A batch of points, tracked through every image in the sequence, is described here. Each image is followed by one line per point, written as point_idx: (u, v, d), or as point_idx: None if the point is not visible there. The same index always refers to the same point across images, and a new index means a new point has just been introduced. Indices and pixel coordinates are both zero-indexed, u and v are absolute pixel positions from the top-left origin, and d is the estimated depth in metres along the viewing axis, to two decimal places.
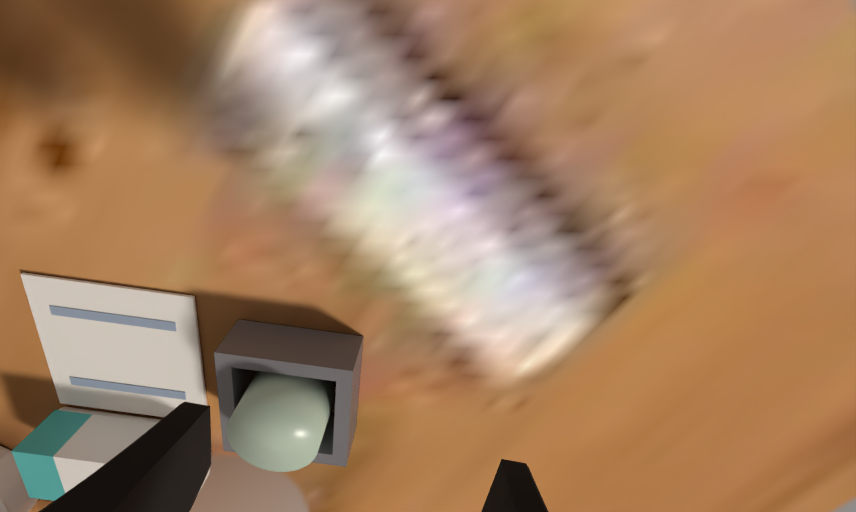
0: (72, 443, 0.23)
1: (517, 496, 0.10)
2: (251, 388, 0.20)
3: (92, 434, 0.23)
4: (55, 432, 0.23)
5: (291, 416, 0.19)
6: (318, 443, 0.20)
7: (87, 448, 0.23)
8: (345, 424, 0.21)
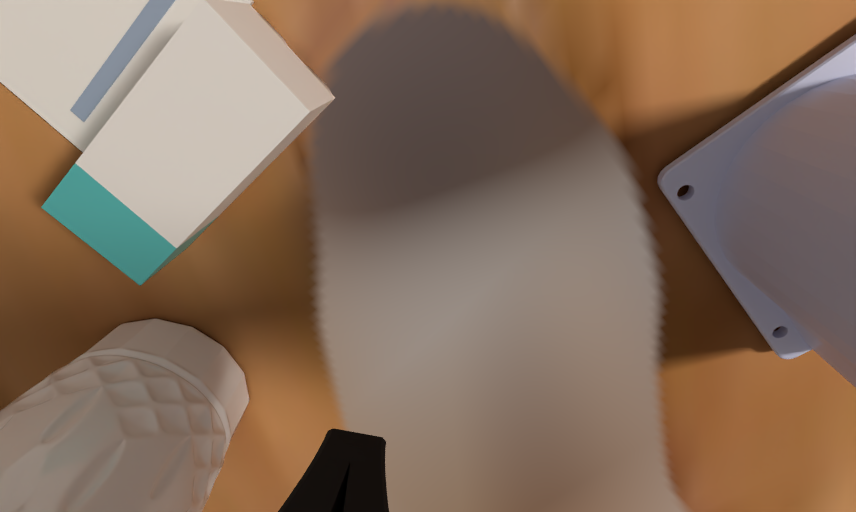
0: None
1: (356, 467, 0.10)
2: None
3: None
4: None
5: None
6: None
7: None
8: None
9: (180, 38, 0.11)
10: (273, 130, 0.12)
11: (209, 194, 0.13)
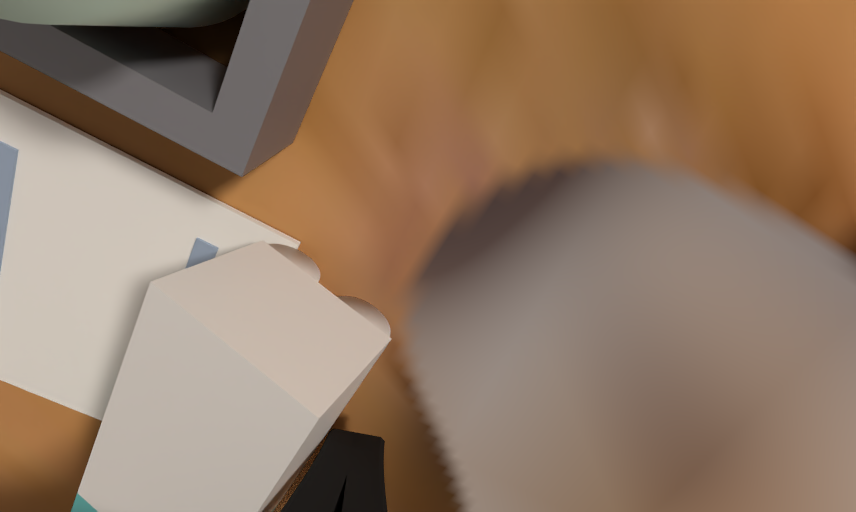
0: None
1: (355, 467, 0.10)
2: None
3: None
4: None
5: None
6: None
7: None
8: None
9: (140, 337, 0.08)
10: (275, 447, 0.07)
11: None
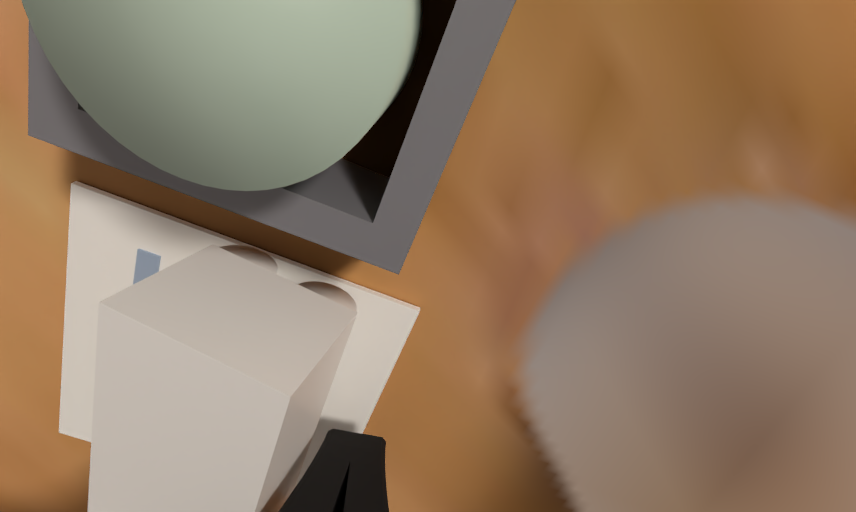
0: None
1: (357, 467, 0.10)
2: None
3: None
4: None
5: None
6: None
7: None
8: None
9: (104, 359, 0.08)
10: (257, 434, 0.07)
11: None
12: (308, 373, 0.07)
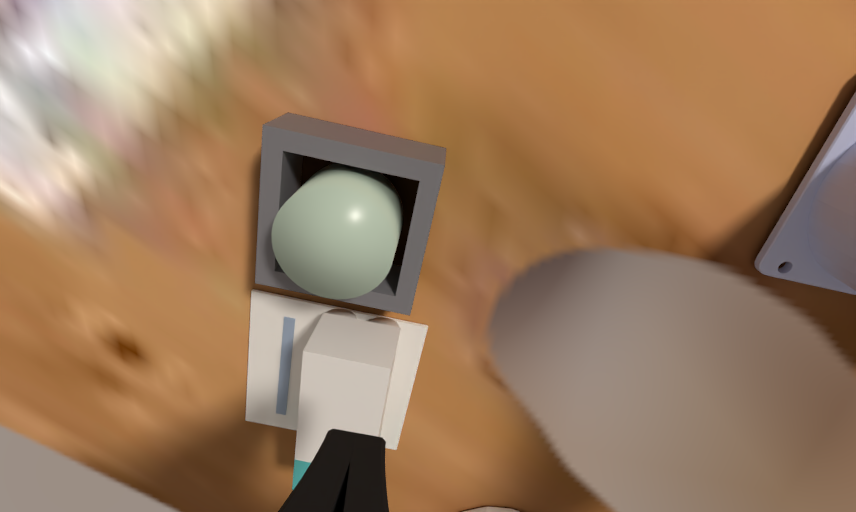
0: None
1: (356, 467, 0.10)
2: None
3: None
4: None
5: (288, 213, 0.14)
6: (337, 188, 0.14)
7: None
8: (359, 151, 0.15)
9: (305, 374, 0.18)
10: (378, 388, 0.18)
11: None
12: (393, 358, 0.18)
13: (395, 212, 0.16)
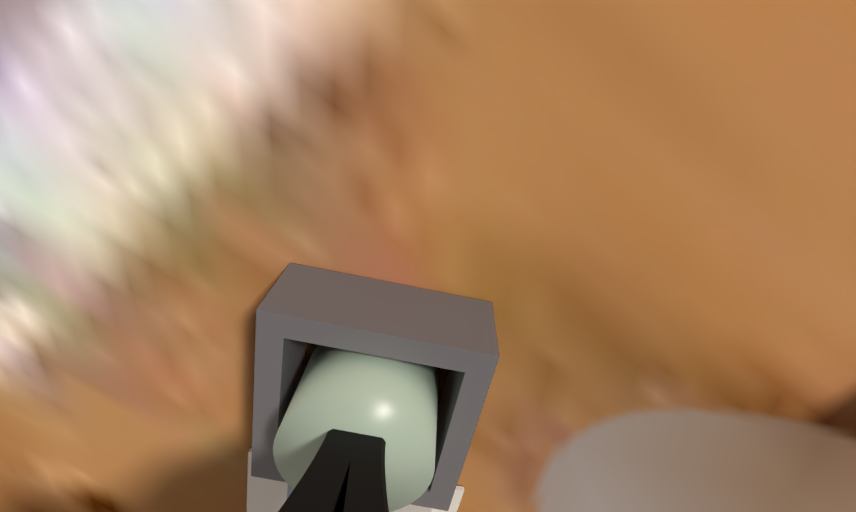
0: None
1: (356, 467, 0.10)
2: None
3: None
4: None
5: (294, 427, 0.11)
6: (360, 401, 0.10)
7: None
8: (385, 340, 0.11)
9: None
10: None
11: None
12: None
13: (432, 400, 0.12)
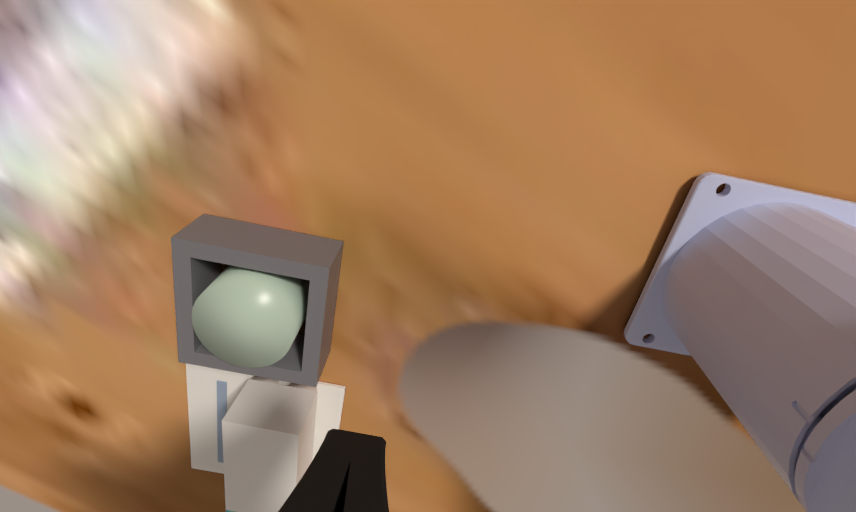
0: None
1: (357, 467, 0.10)
2: None
3: None
4: None
5: (203, 303, 0.18)
6: (241, 284, 0.17)
7: None
8: (255, 257, 0.17)
9: (226, 439, 0.20)
10: (290, 451, 0.20)
11: (287, 492, 0.21)
12: (303, 424, 0.20)
13: (298, 294, 0.19)
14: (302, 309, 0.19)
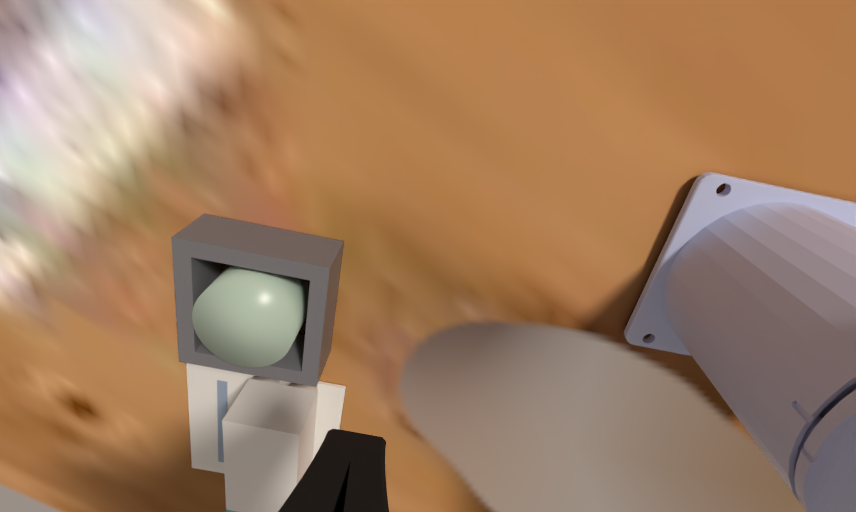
0: None
1: (356, 467, 0.10)
2: None
3: None
4: None
5: (203, 302, 0.18)
6: (241, 283, 0.17)
7: None
8: (255, 257, 0.17)
9: (226, 439, 0.20)
10: (291, 451, 0.20)
11: (288, 491, 0.21)
12: (303, 424, 0.20)
13: (299, 294, 0.19)
14: (302, 309, 0.19)
